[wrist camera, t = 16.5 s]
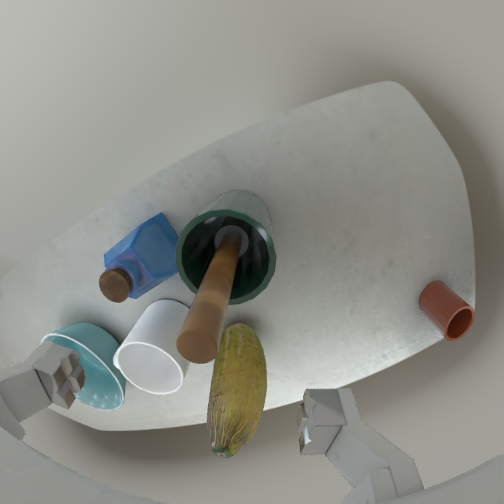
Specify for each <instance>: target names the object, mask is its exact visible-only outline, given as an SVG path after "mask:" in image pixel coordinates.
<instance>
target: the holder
mask: <svg viewBox="0 0 504 504" xmlns="http://www.w3.org/2000/svg"><path fill="white" fill-rule="evenodd" d="M419 306H420V309H421V310H422V311H423V313H424V314H425V315H426V316H427V317H428V318H429V320H430V321H431V322H432V323H433V324H434V325H435V326H436V328H437V329H438V330H439V331H440V332H441V333H442V334H443V336H444V337H445V338H446V339H447V340H449V341H454V340H457V339H459V338H461V337H462V336H463V335H464V334H465V333H466V332H467V331H468V330H469V328H470V326H471V325H472V322H473V320H474V310H473V308H472V307H471V306H470V305H469V304H467V303H466V302H465V301H464V300H463V299H462V298H460V297H459V296H458V295H457V294H456V293H455V292H453V291H452V290H451V289H450V288H449V287H447V286H446V285H445V284H444V283H442V282H440V281H436V282H433V283H431V284H429V285H428V286H427V287H426V288H425V289H424V290H423V292H422V294H421V296H420V300H419Z"/></svg>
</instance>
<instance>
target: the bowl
mask: <svg viewBox="0 0 504 504" xmlns="http://www.w3.org/2000/svg"><path fill="white" fill-rule="evenodd" d="M44 341H50V342H53V343H55V344H58V345H61V346H63V347H66V348H68V349H71V350H74V351H76V352H78V354H79V357H80V361H79V363H80V365H81V366H82V367H83V368H84V371H85V377H86V379H85V383H84V386H83V388H82V389H81V391H78V392H76V393H75V396H76V399H77V400H78V401H80V402H82V403H83V404H85V405H88V406H90V407H92V408H95V409H99V410H104V411H113V410H116V409H119V408H120V407H121V406H122V405H123V403H124V397H125V383H126V378H125V377H124V375H123V374H122V373H121V371H120V369H118V368H116V367H115V365H114V363H113V357H114V355H115V353H116V351H117V350H118V348H119V347H120V345H119V343H118V342H117V341H116V340H115V339H114V338H113V336H111V335H110V334H109V333H108V332H107V331H105V330H104V329H102V328H100V327H98V326H96V325H94V324H91V323H78V324H75V325H72V326H69V327H66V328H63V329H60V330H57V331H55V332H52V333H50V334H48V335H46V336H45V337H44V338H43V339H42V341H41V344H42V343H43V342H44Z"/></svg>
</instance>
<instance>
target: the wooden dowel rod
mask: <svg viewBox="0 0 504 504" xmlns="http://www.w3.org/2000/svg"><path fill="white" fill-rule="evenodd" d="M251 227H252V226H251V225H250V224H248V223H247V222H245V221H244V220H241V219H237V218H233V217H230V216H226V218H225V219H224V221H223V223H222V224H221V226H220V228H219V229H218V231H217V233H216V234H215V237H214V246H215V248H216V253H215V255H214V257H213V259H212V261H211V263H210V265H209V268H208V270H207V272H206V274H205V276H204V278H203V281H202V283H201V285H200V287H199V289H198V291H197V294H196V296H195V298H194V300H193V303H192V305H191V307H190V309H189V311H188V314H187V316H186V318H185V320H184V323H183V325H182V327H181V330H180V332H179V334H178V336H177V339H176V347H177V350H178V352H179V353H180V355H181V356H182V357H183V358H185V359H186V360H188V361H190V362H193V363H198V364H203V363H208V362H210V361H212V360H213V359H214V358H215V357H216V356H217V354H218V351H219V346H220V341H221V336H222V332H223V327H224V322H225V318H226V313H227V308H228V303H229V299H230V294H231V289H232V285H233V280H234V276H235V271H236V266H237V262H238V258H239V257H241V256H243V255H244V254H245V253H246V252H247V250H248V248H249V243H250V235H251Z"/></svg>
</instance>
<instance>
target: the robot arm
mask: <svg viewBox="0 0 504 504" xmlns="http://www.w3.org/2000/svg"><path fill="white" fill-rule="evenodd" d="M79 361H80V357H79V354H78V352H76V351H74V350H71V349H68V348H66V347H63V346H61V345H58V344H55V343H53V342H50V341H44V342H43V343H42V344H41V345H40V346H39V347H38V348H37V349H36V350H35V351H34V352H33V353H32V354H31V355H30V356H29V357H28V358H27V360H26V361H25V362H24V363H22V362H19V363H16V364H13V365H11V366H8V367H5V368H2V369H0V504H168V503H164V502H160V501H156V500H152V499H149V498H145V497H141V496H138V495H135V494H132V493H129V492H126V491H123V490H120V489H117V488H114V487H112V486H109V485H106V484H104V483H101V482H99V481H96V480H94V479H92V478H89V477H87V476H85V475H82V474H80V473H78V472H76V471H74V470H72V469H70V468H68V467H66V466H64V465H62V464H60V463H58V462H56V461H54V460H52V459H51V458H49V457H47V456H45V455H44V454H42V453H40V452H39V451H37V450H35V449H34V448H32V447H30V446H29V445H27V444H25V443H24V442H23V441H21V440H22V439H23V437H24V435H25V430H24V429H23V428H22V426H21V425H20V422H21V421H23V420H25V419H27V418H28V417H30V416H31V415H33V414H35V413H37V412H39V411H40V410H42V409H44V408H45V407H47V406H49V405H50V404H52V403H54V404H56V405H59V406H61V407H63V408H66V409H69V408H70V406H71V405H72V403H73V402H74V400H75V399H76V396H75V393H76V392H78V391H81V389H82V388H83V386H84V383H85V379H86V377H85V371H84V368H83V367H82V366H81V365H80V363H79ZM303 399H304V402H303V403H302V404H300V408H299V411H298V430H299V431H300V432H301V433H302V434H301V436H300V438H299V443H300V452H301V455H314V454H325V456H326V457H327V458H328V459H329V461H330V462H331V463H332V464H333V465H334V466H335V467H336V469H337V470H338V471H339V472H340V473H341V474H342V475H343V477H344V478H345V479H346V480H347V481H348V482H349V483H350V484H351V485H352V486H353V488H354V489H353V490H352V491H351V492H350V493H349V494H348V495H347V496H345V497H344V499H342V504H504V455H498V456H496V457H493V458H491V459H490V460H488V461H486V462H484V463H482V464H481V465H479V466H477V467H475V468H473V469H471V470H469V471H467V472H465V473H463V474H461V475H458V476H456V477H454V478H452V479H449V480H447V481H445V482H442V483H440V484H437V485H435V486H432V487H429V488H427V489H424V487H423V484H422V481H421V479H420V475H419V473H418V470H417V467H416V464H415V462H414V459H413V458H411V457H409V456H408V455H407V454H406V453H404V452H403V451H402V450H400V449H399V448H398V447H396V446H395V445H394V444H392V443H391V442H390V441H389V440H387V439H386V438H385V437H383V436H382V435H381V434H380V433H378V432H377V431H376V430H374V429H373V428H372V427H371V426H370V425H368V424H367V423H362V420H361V417H360V414H359V411H358V408H357V404H356V401H355V398H354V395H353V393H352V390H351V389H350V388H338V389H306V391H305V393H304V395H303ZM51 402H52V403H51Z"/></svg>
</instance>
